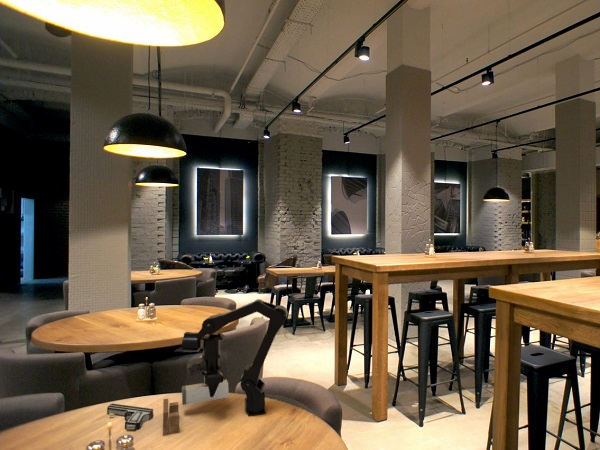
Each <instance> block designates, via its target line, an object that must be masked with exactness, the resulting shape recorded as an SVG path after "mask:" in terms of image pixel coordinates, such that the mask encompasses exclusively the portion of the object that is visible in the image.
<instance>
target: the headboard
mask: <svg viewBox="0 0 600 450" xmlns="http://www.w3.org/2000/svg"><path fill="white" fill-rule="evenodd" d="M162 401H163V403H162V405H163V406H162V407H163V408H162V436H168V435H172V434H178V433H180V411H179V407H180V405H179V401H175V402H169V398H163V400H162Z"/></svg>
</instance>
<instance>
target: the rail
mask: <svg viewBox="0 0 600 450" xmlns="http://www.w3.org/2000/svg"><path fill="white" fill-rule="evenodd" d="M229 396H230V395H229V381H228V380H227V379H223V382H222V383H219V385H218V387H217V390H216V392H215V394H214V397H210V393H209V388H208V384H205V383H204V382H202V383H201V382H200V383H194V384H189V385H182V386H181V402H182V403H181V404H182V406H185V405H191V404H196V403H198V404H199V403H202V402H210V401H215V400H220V399H225V398H226V399H227V398H229Z"/></svg>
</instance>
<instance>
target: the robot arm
mask: <svg viewBox="0 0 600 450" xmlns="http://www.w3.org/2000/svg"><path fill="white" fill-rule="evenodd" d="M254 313H258V314H261V315H262V316H263V317H265V318H267V319H269V320H268V325H267V329H266V332H265V334H264V337H263V339H262V341H261V344H260V346H259V348H258V350H257V352H256V354H255V358H253V362H252V363H251V364H249V363H247V365H246V366H245V367H244V370H243V373H242V375H241V377H240V379H239V380H240V388H241V390H242V391H243V392H244V393H245V398H244V410H245V412H246V414H247V416H248V417H251V416H256V415H257V416H258V415H262V414H267V411H266V394H265V392H264V389H265V386H266V383H265V382H264V381H263V380H262V379H261V373H262V369H263V368H262V367H263V365H264V363H265V360H266V358H267V356H268V354H269V351H270V349H271V347H272V345H273V342H274V340H275V337H276V335H277V334H278V332H279V330H280V329H281V328H282V327H283V325H284V324H285V322H286V319H287V317H288V313H289V312H288V309H287V308H286V306H283V305H276V304H273V303H271V302H268V301H267V302H266V301H264V300H262V299H258V298H257V299H255V300H254V301H251V302H249V303H247V304H245V305H242V306H239V307H237V308H235V309H232V310H230V311H228V312H224V313H218V314H212V315H210V316H208V317H207V318H205V319H204V320H203V321H202V324H201V329H200V330H199V331H198V332H190V331H186V332H184V333H183V337H182V339H181V340H182V342H181V345H180V346H181V350H182V352H200V351H201V349H203V352H202V354H201V357H200V358H196V359H195V360H193V361H191V362H189V363H187V364H186V368H187V371H188V374H189V376H190V377H192V376H195V375H196V374H197V373H200V372H201V375H202V376H203V383H205V384H208V388H209V393H210V397H214V394H215V392H216V390H217V387H218V385H219V383H222V382H223V380H224V375H223V373H222V372H221V371H220V370H221V366H220V358H221V354H220V341H223V340H224V339H225V338H226V335H224V334H223V333H222V332H221V331H220V330H221V329H222V328H224V327H225V326H227V325H229V324H231V323H233V322H235V321H239V320H240V319H241V320H242V319H243V318H245V317H247V316H250V315H252V314H254ZM216 332H218V333H216Z"/></svg>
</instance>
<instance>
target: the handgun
mask: <svg viewBox="0 0 600 450" xmlns="http://www.w3.org/2000/svg"><path fill="white" fill-rule="evenodd" d="M106 409H107V410H106V414H107V415H108V416H111V417H114V416H116V417H124V421H125V422H124V430H126V431H139V430H141V428H142V426H143V425H144V423H145V422H148V421H149V422H150V421H151V420H152V419H153V418H154V409H153V408H149V407H142V406H141V407H139V406H136V405H135V406H133V405H126V404H117V403H110V404H109V405H107V407H106Z"/></svg>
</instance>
